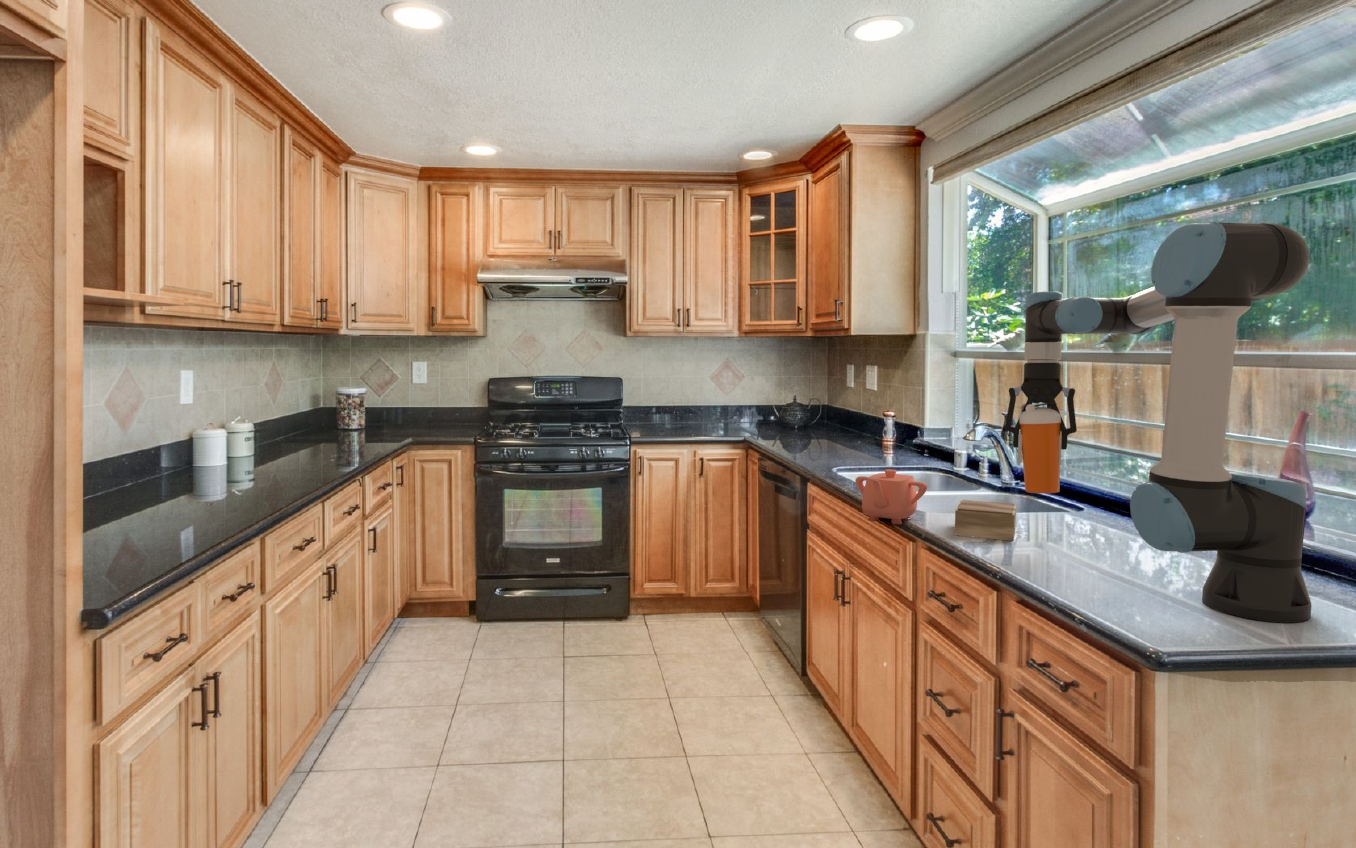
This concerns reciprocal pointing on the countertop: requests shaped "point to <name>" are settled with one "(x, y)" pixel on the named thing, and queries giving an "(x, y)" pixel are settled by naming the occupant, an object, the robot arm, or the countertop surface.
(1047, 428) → the shaker bottle
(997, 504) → the block
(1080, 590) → the countertop surface
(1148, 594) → the countertop surface
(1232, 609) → the robot arm
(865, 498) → the teapot
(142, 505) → the countertop surface
